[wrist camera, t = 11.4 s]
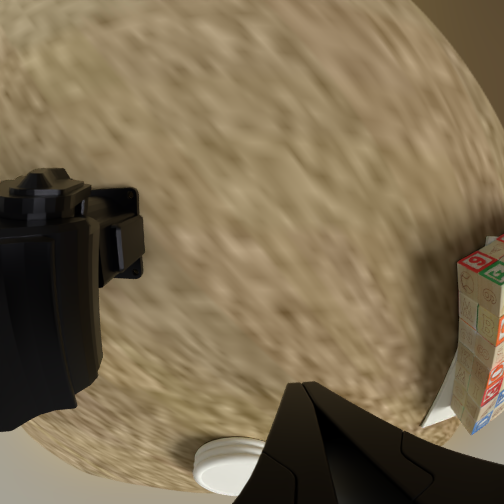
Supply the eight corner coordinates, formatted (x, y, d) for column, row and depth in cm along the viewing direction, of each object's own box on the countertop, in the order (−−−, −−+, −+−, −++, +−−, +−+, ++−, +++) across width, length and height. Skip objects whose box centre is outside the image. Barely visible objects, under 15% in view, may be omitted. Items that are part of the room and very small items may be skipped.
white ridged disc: (215, 424, 25) (213, 450, 21) (298, 446, 26) (302, 469, 23) (183, 463, 27) (180, 485, 23) (255, 481, 28) (256, 502, 25)
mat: (420, 426, 27) (422, 427, 26) (486, 236, 20) (489, 236, 20) (485, 400, 27) (487, 401, 27) (541, 240, 21) (543, 241, 20)
